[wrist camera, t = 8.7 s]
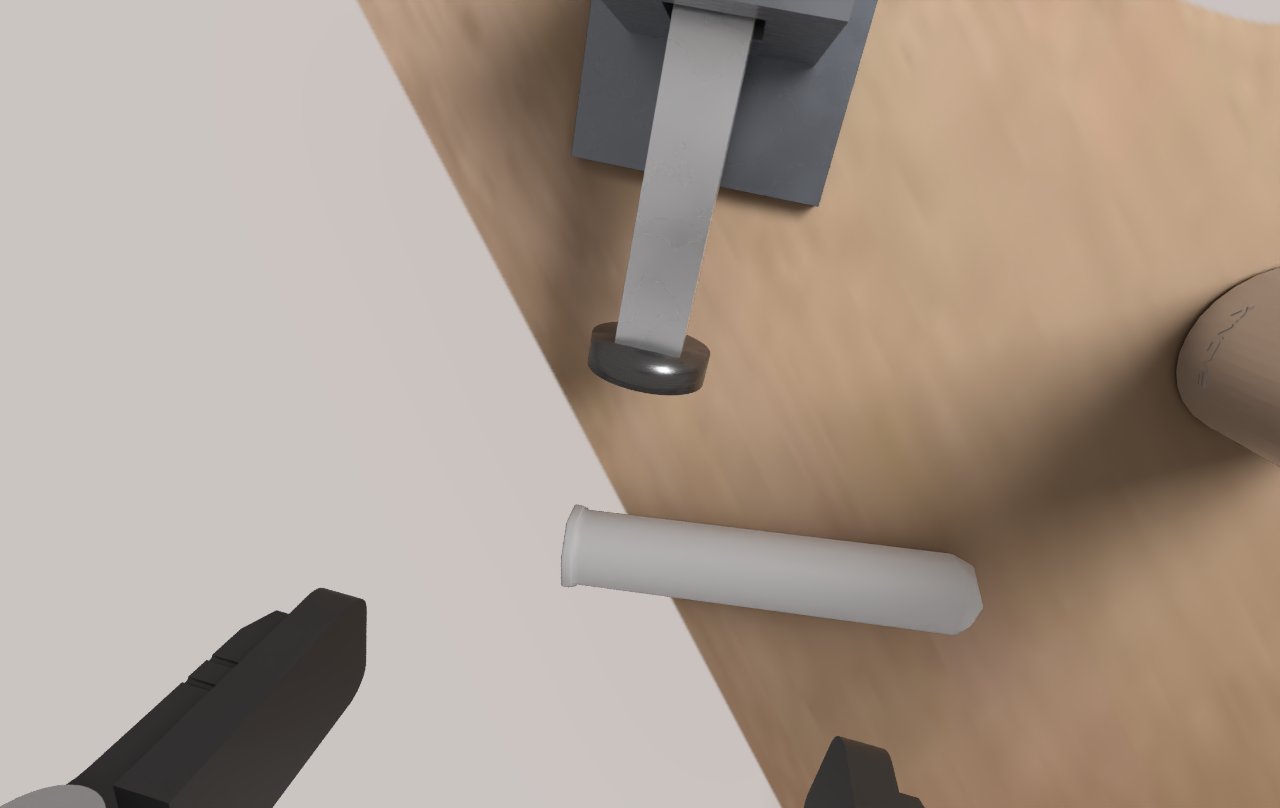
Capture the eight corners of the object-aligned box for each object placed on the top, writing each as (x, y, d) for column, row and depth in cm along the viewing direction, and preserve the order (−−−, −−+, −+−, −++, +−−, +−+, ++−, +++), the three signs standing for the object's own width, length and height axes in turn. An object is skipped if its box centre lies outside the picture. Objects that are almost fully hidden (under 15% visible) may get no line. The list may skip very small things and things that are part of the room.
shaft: (807, -54, 24) (825, -112, 19) (706, 365, 31) (699, 405, 26) (670, -77, 25) (652, -141, 19) (601, 341, 32) (574, 376, 27)
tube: (1004, 567, 33) (564, 514, 36) (992, 661, 34) (557, 600, 37) (964, 540, 39) (583, 495, 42) (954, 621, 39) (577, 571, 42)
